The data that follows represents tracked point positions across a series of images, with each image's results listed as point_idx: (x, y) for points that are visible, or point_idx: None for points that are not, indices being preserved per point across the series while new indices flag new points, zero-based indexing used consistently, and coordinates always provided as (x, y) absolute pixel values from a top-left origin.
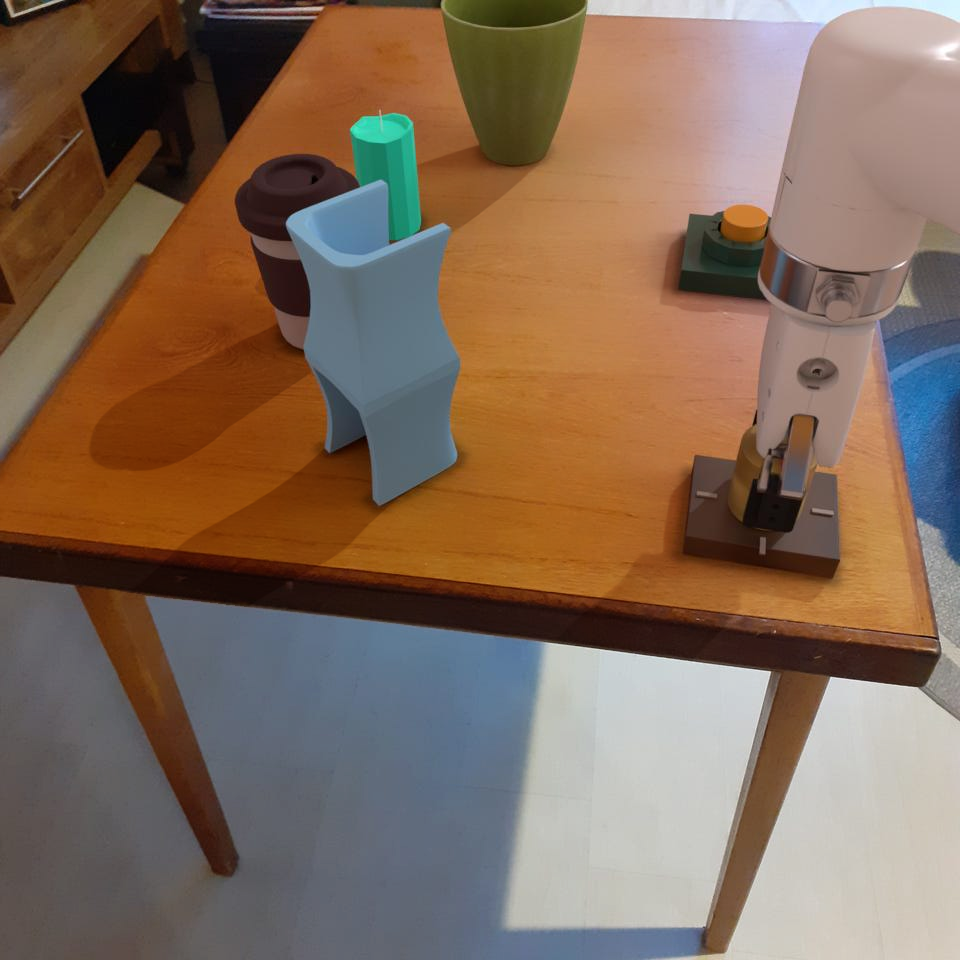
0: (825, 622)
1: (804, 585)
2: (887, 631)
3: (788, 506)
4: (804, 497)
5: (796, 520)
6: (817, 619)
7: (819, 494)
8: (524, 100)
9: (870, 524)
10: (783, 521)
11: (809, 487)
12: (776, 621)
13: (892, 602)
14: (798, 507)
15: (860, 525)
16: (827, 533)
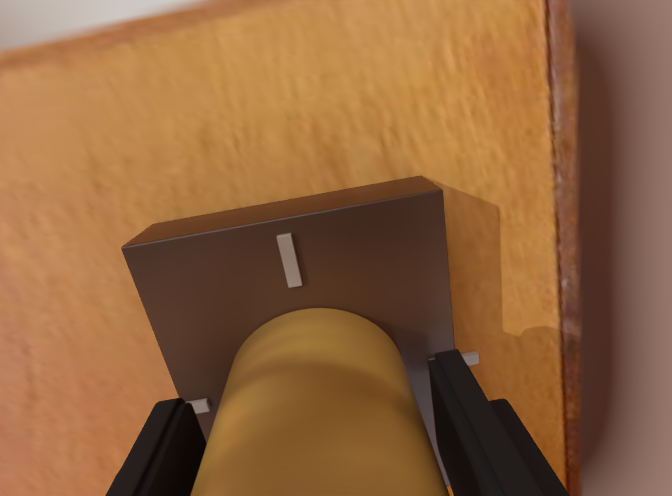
0: (547, 170)
1: (457, 228)
2: (545, 26)
3: (563, 486)
4: (359, 369)
5: (352, 315)
6: (542, 188)
7: (224, 277)
8: None
9: (208, 112)
10: (517, 420)
11: (328, 377)
12: (563, 262)
13: (452, 23)
14: (498, 425)
15: (224, 137)
16: (361, 235)
